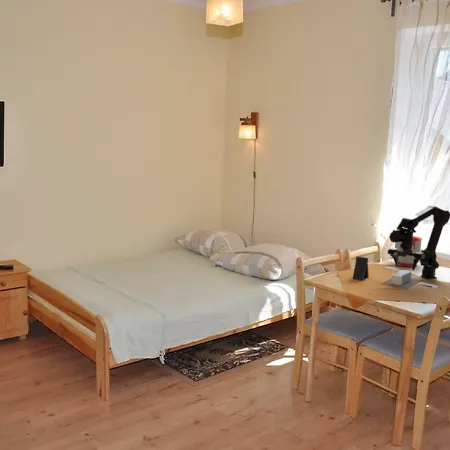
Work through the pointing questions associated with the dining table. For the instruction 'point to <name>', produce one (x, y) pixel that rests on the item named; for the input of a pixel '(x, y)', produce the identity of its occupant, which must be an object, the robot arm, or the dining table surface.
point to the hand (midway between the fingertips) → (404, 268)
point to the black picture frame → (361, 269)
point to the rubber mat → (405, 285)
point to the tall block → (401, 277)
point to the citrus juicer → (416, 248)
